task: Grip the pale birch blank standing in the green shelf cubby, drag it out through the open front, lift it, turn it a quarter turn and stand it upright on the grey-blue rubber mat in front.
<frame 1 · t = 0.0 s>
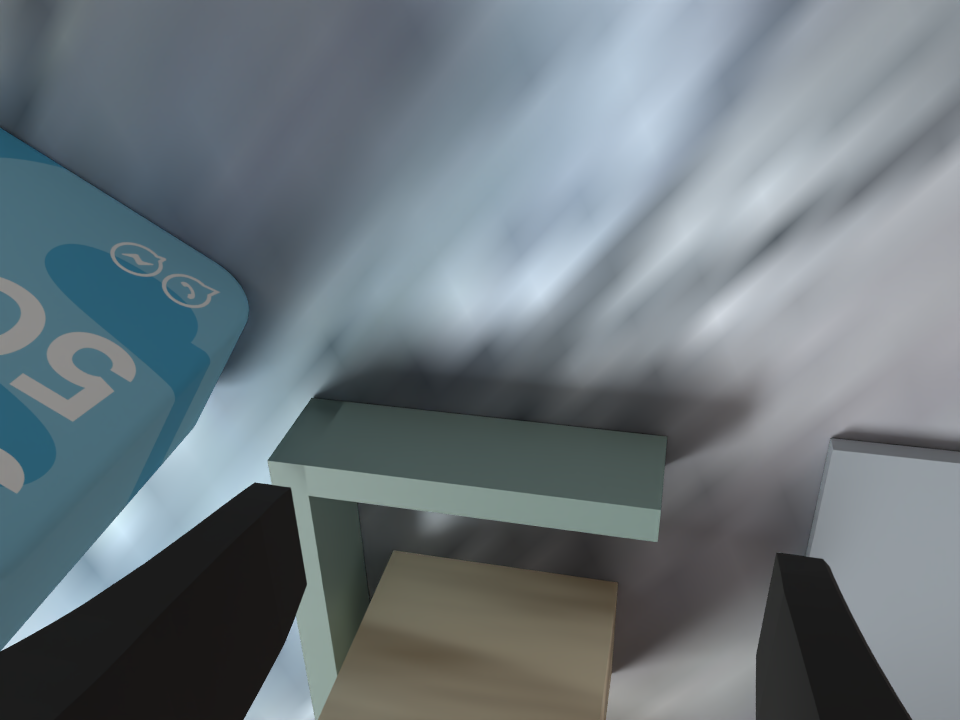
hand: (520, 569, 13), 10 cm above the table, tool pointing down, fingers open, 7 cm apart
birch blank: (503, 611, 28), on the table
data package: (60, 232, 25), on the table
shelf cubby: (518, 616, 28), on the table
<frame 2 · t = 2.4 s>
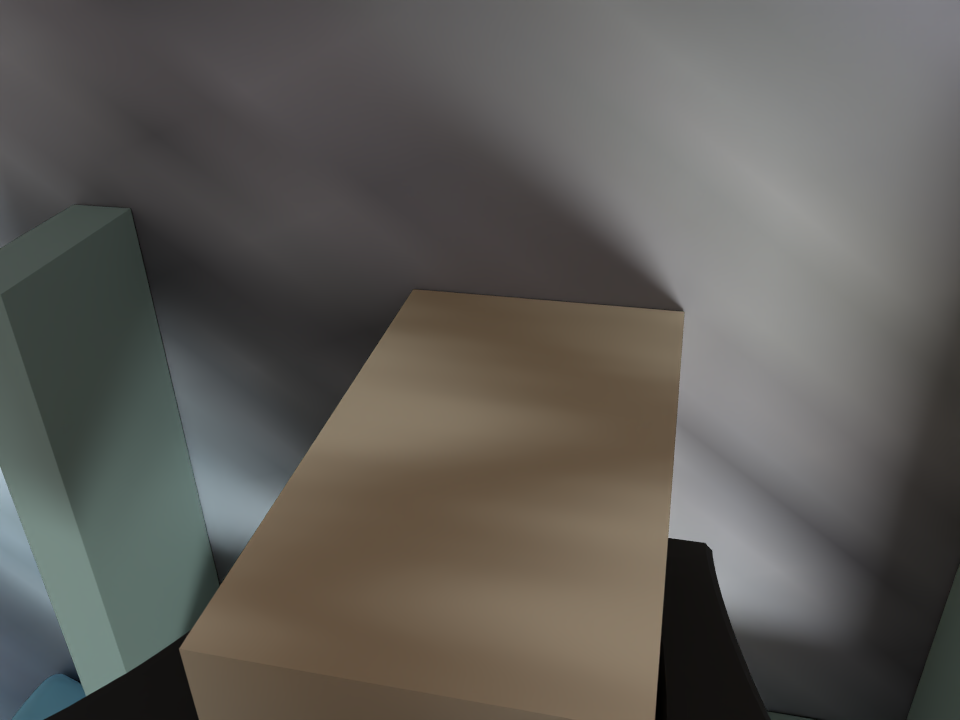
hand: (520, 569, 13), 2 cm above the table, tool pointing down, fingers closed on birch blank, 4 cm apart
birch blank: (541, 488, 15), on the table, touching gripper
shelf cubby: (541, 464, 15), on the table
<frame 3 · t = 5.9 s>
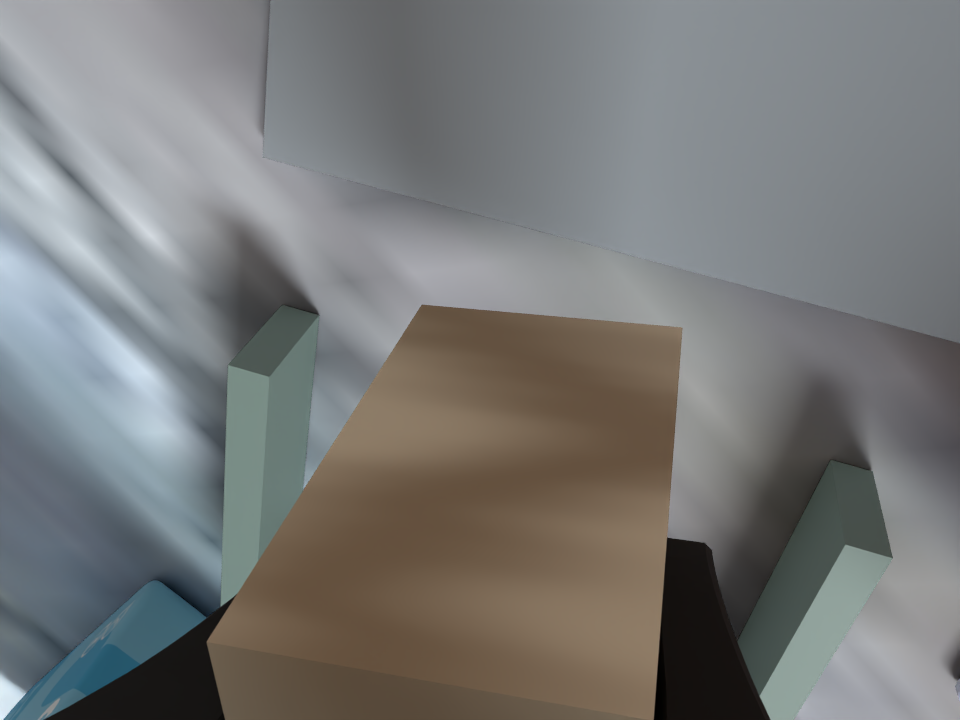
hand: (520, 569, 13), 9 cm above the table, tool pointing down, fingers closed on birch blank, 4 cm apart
birch blank: (544, 497, 15), point 7 cm above the table, touching gripper
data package: (142, 666, 33), on the table
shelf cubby: (533, 504, 24), on the table
when the fingers open (3 cm above the table, at t = 9.4 s): birch blank stays where it is, resting on rubber mat.
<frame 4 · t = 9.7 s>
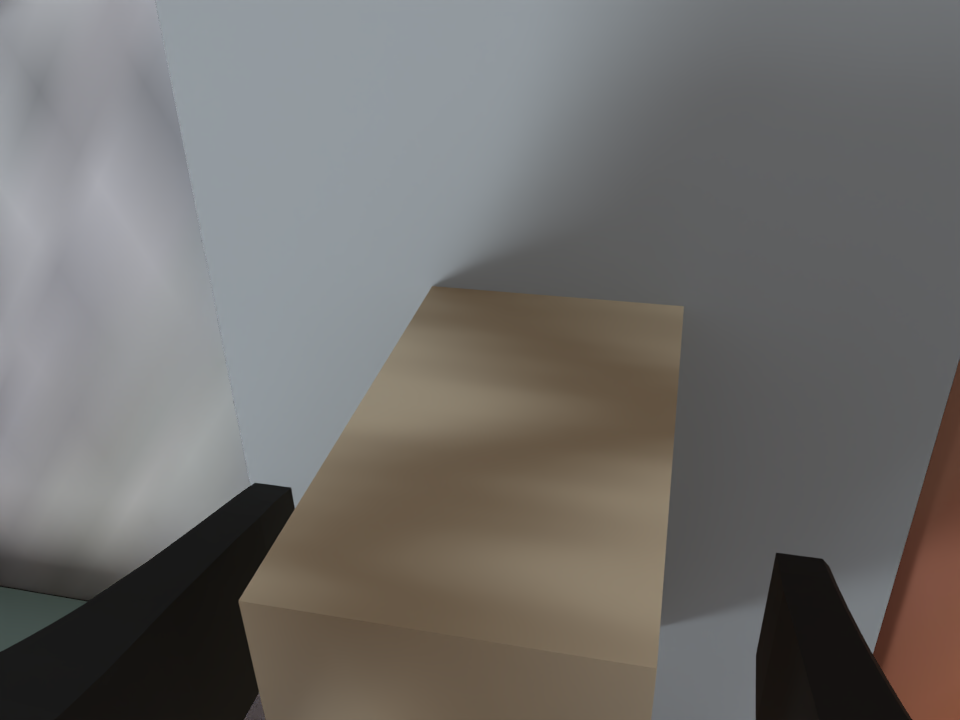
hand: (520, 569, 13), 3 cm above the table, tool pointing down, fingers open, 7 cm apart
birch blank: (550, 472, 16), resting on rubber mat
rubber mat: (555, 436, 16), on the table
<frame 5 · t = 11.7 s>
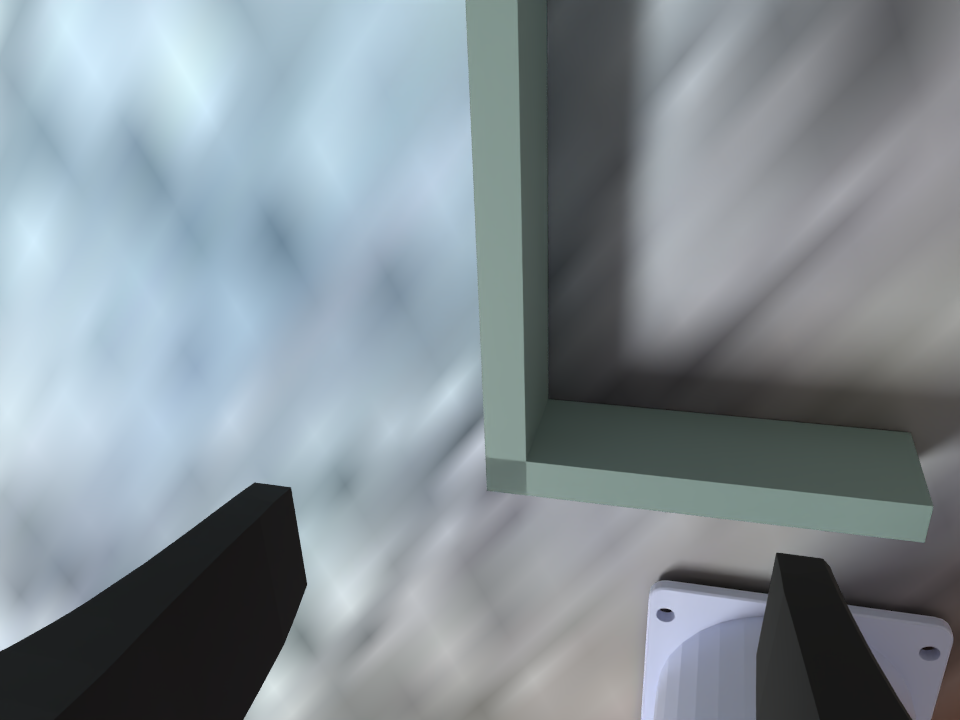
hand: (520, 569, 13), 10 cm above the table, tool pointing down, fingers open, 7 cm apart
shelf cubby: (770, 166, 20), on the table
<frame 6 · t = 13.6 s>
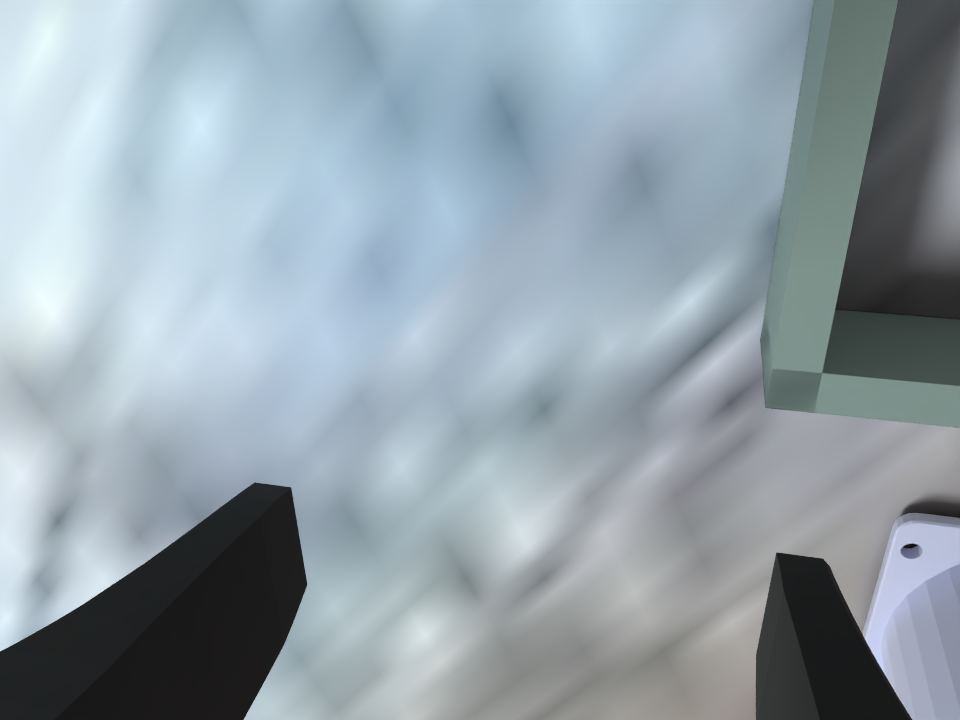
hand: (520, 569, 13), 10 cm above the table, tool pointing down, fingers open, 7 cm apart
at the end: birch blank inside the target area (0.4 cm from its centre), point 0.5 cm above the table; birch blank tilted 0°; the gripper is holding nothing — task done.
